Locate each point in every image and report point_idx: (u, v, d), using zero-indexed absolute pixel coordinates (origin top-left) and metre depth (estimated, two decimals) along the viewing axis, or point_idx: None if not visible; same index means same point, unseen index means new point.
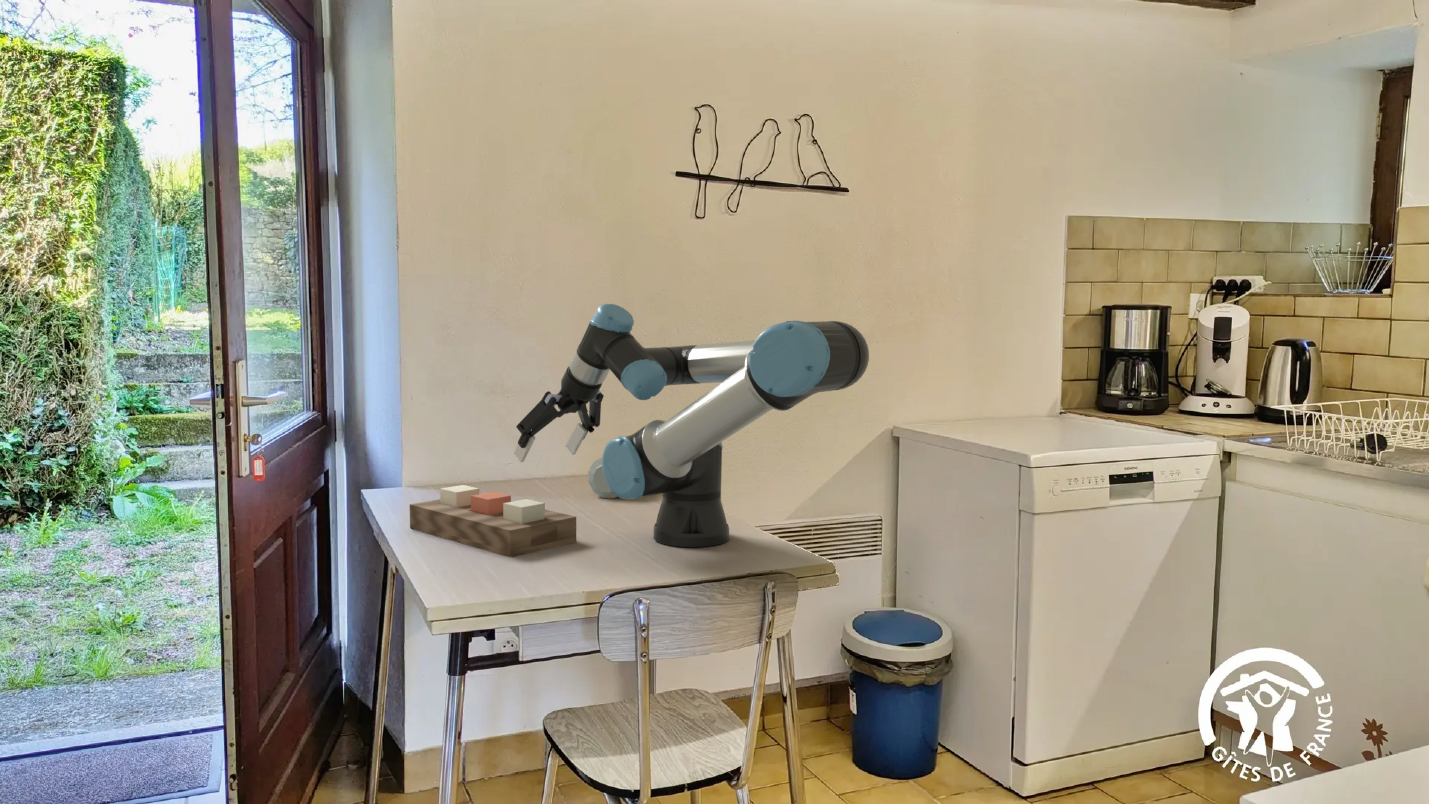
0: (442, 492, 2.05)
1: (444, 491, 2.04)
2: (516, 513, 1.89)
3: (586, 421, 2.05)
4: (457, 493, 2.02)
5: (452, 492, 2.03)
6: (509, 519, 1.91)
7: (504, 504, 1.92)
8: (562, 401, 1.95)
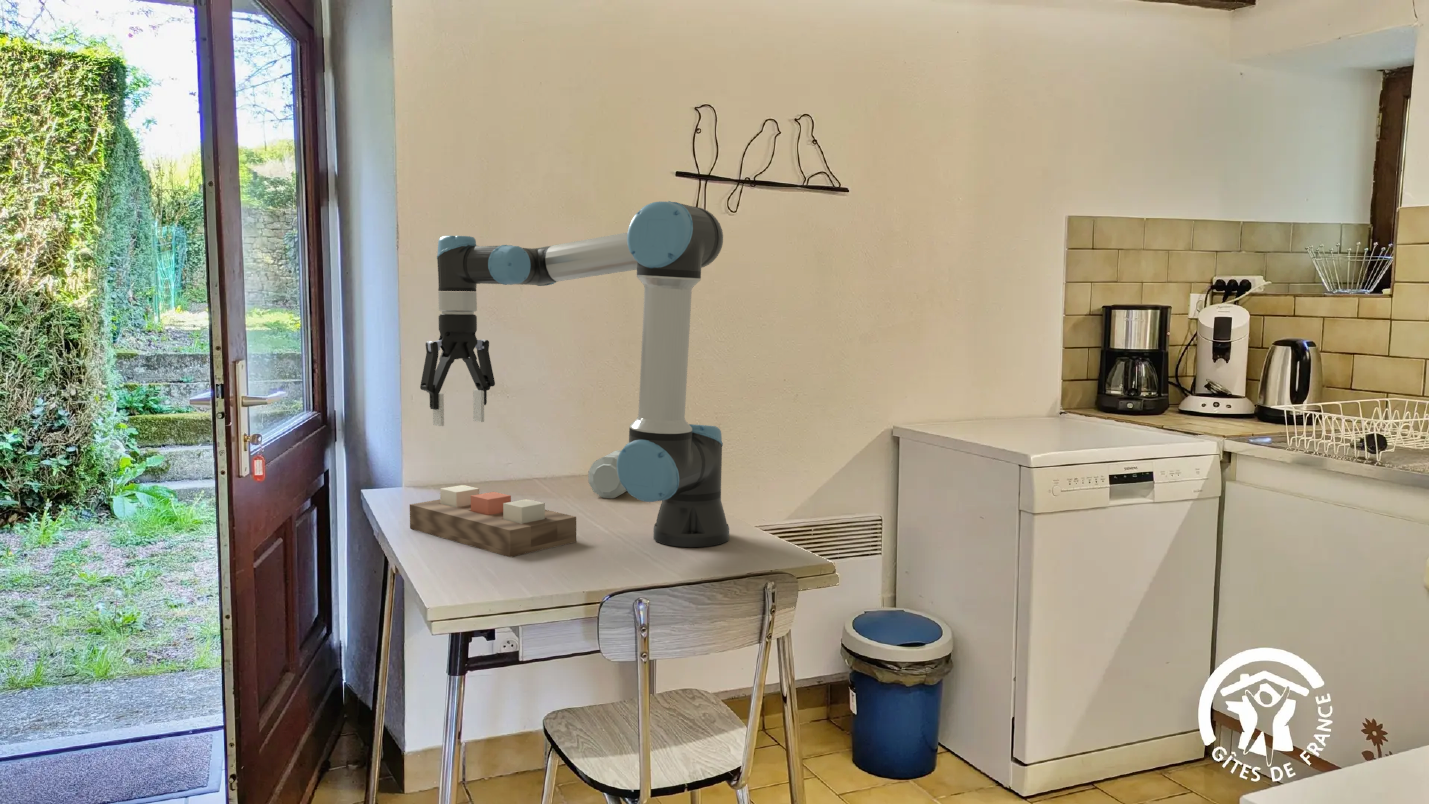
0: (442, 492, 2.05)
1: (444, 491, 2.04)
2: (516, 513, 1.89)
3: (479, 375, 2.06)
4: (457, 493, 2.02)
5: (452, 492, 2.03)
6: (509, 519, 1.91)
7: (504, 504, 1.92)
8: (445, 343, 1.99)
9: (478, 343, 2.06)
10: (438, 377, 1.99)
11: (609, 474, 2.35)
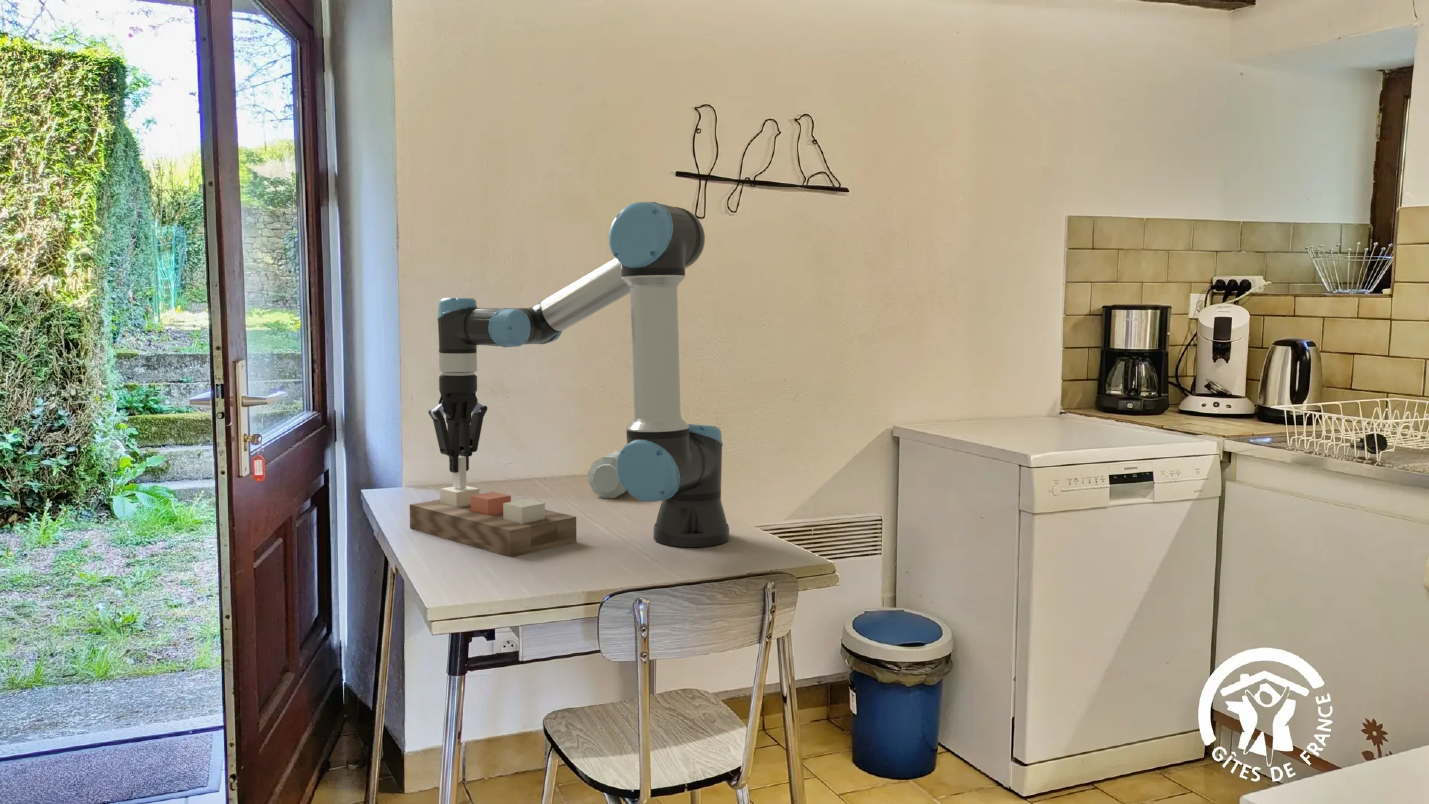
0: (442, 492, 2.05)
1: (444, 491, 2.04)
2: (516, 513, 1.89)
3: (466, 438, 2.05)
4: (457, 493, 2.02)
5: (452, 492, 2.03)
6: (509, 519, 1.91)
7: (504, 504, 1.92)
8: (446, 405, 2.00)
9: (477, 405, 2.07)
10: (452, 442, 2.03)
11: (609, 474, 2.35)
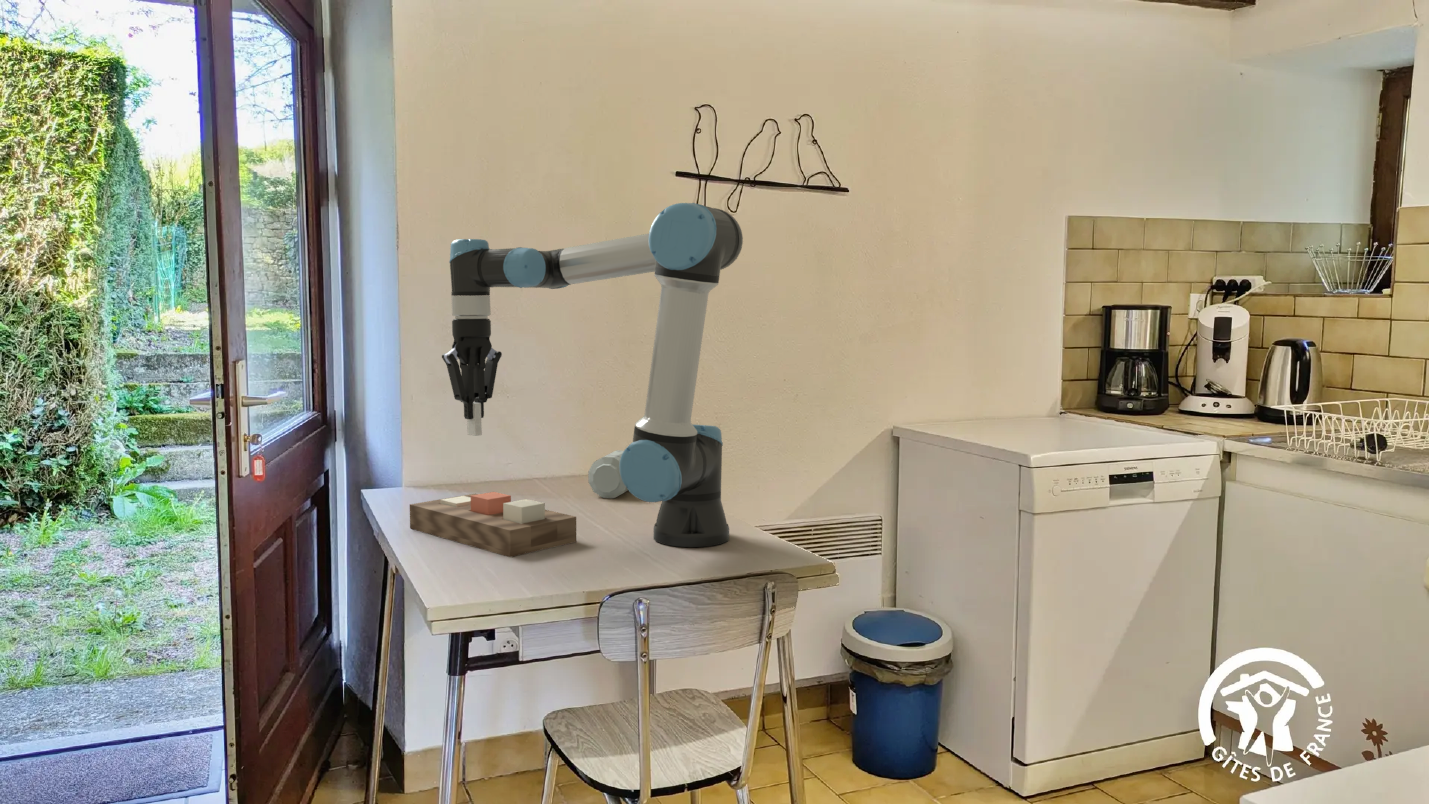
0: (442, 503, 2.05)
1: (444, 502, 2.05)
2: (516, 513, 1.89)
3: (481, 384, 2.00)
4: (457, 504, 2.02)
5: (452, 503, 2.03)
6: (509, 519, 1.91)
7: (504, 504, 1.92)
8: (459, 349, 1.96)
9: (491, 351, 2.03)
10: (467, 387, 1.98)
11: (609, 474, 2.35)
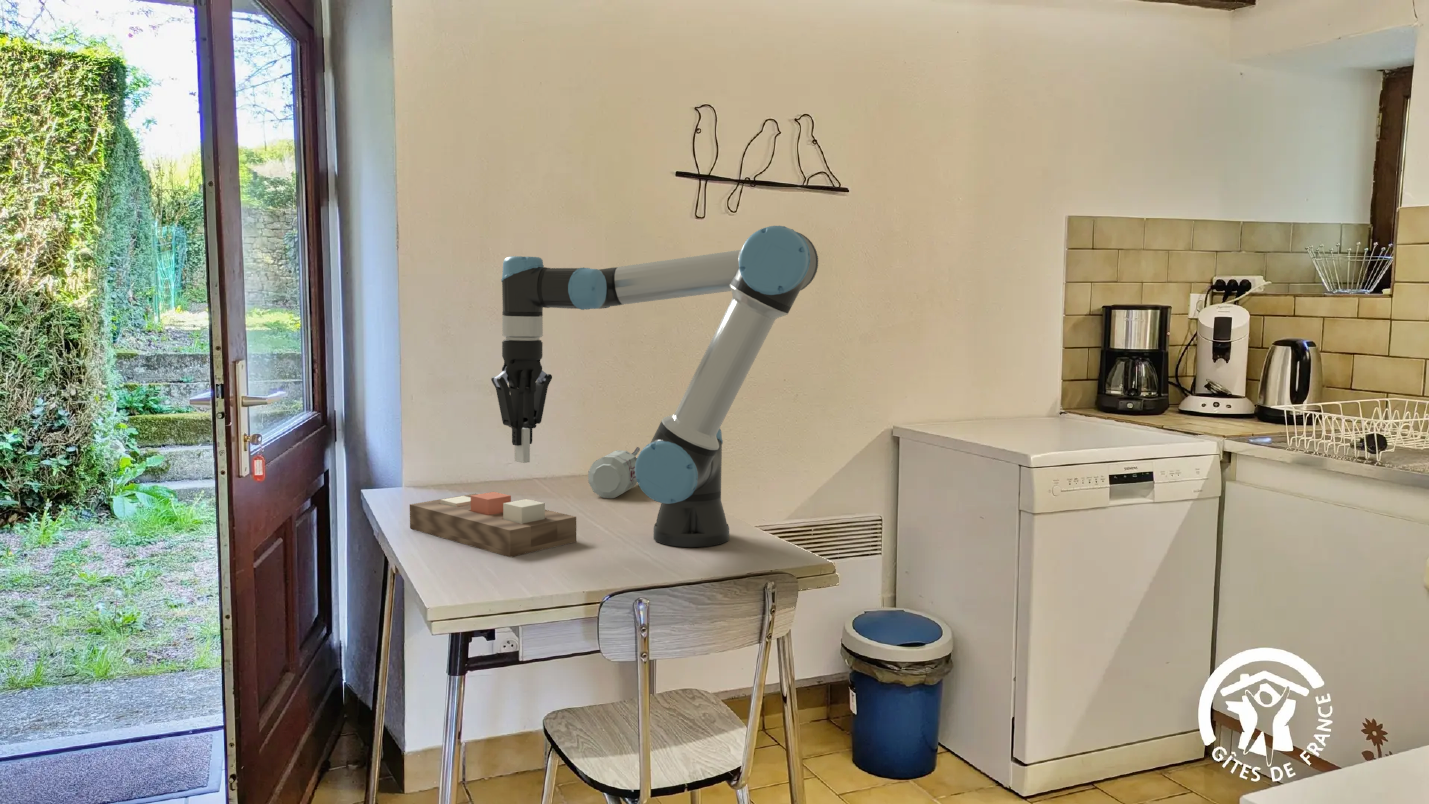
0: (442, 503, 2.05)
1: (444, 502, 2.05)
2: (516, 513, 1.89)
3: (530, 409, 1.90)
4: (457, 504, 2.02)
5: (452, 503, 2.03)
6: (509, 519, 1.91)
7: (504, 504, 1.92)
8: (510, 372, 1.86)
9: (541, 374, 1.92)
10: (516, 412, 1.88)
11: (609, 474, 2.35)
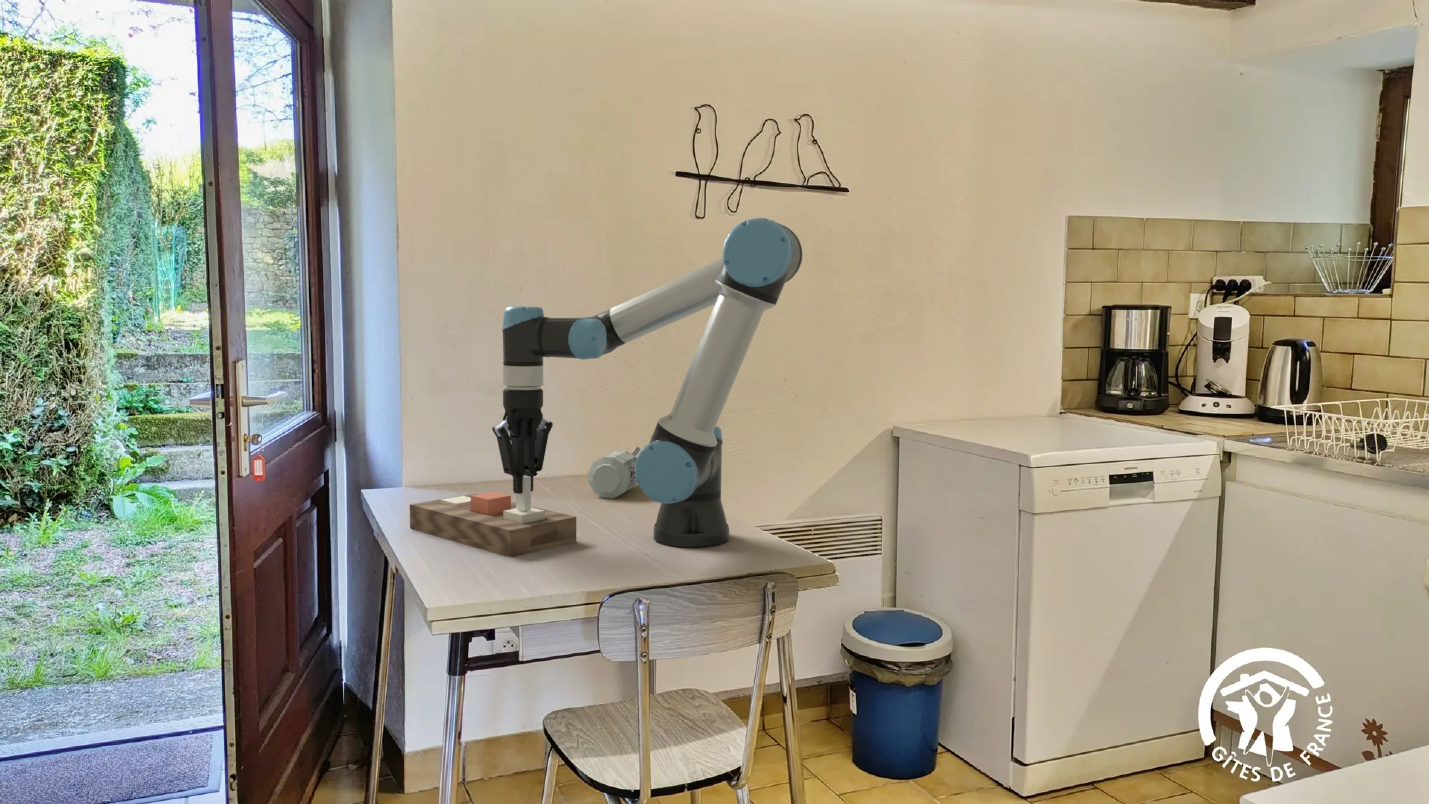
0: (442, 503, 2.05)
1: (444, 502, 2.05)
2: (516, 521, 1.89)
3: (531, 457, 1.91)
4: (457, 504, 2.02)
5: (452, 503, 2.03)
6: None
7: (504, 512, 1.92)
8: (511, 422, 1.87)
9: (542, 422, 1.93)
10: (517, 460, 1.89)
11: (609, 474, 2.35)
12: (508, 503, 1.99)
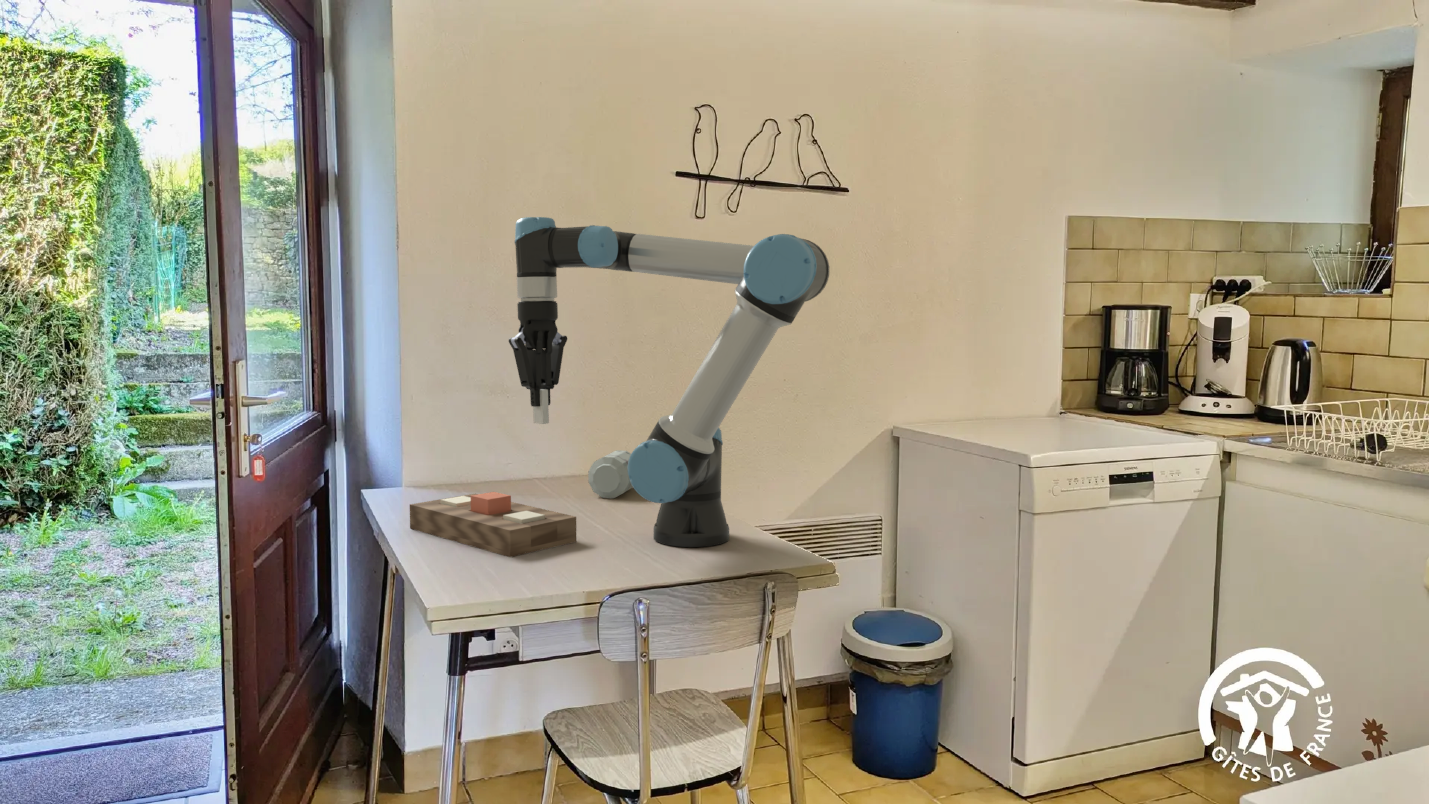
0: (442, 503, 2.05)
1: (444, 502, 2.05)
2: None
3: (547, 370, 1.91)
4: (457, 504, 2.02)
5: (452, 503, 2.03)
6: None
7: (504, 516, 1.92)
8: (527, 333, 1.87)
9: (556, 335, 1.93)
10: (534, 373, 1.89)
11: (609, 474, 2.35)
12: (508, 503, 1.99)
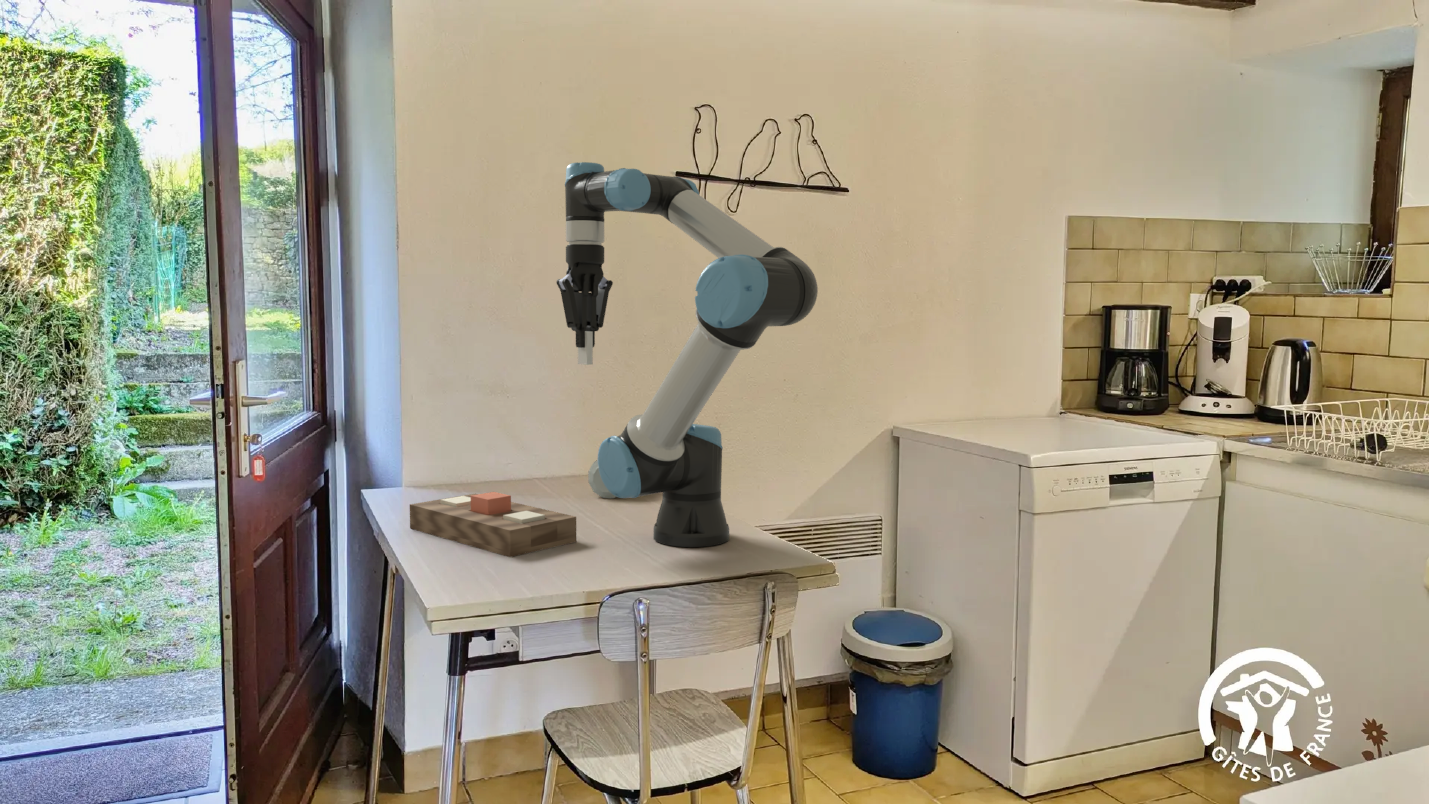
0: (442, 503, 2.05)
1: (444, 502, 2.05)
2: None
3: (593, 313, 1.97)
4: (457, 504, 2.02)
5: (452, 503, 2.03)
6: None
7: (504, 516, 1.92)
8: (574, 275, 1.93)
9: (602, 280, 1.99)
10: (580, 315, 1.95)
11: None
12: (508, 503, 1.99)
